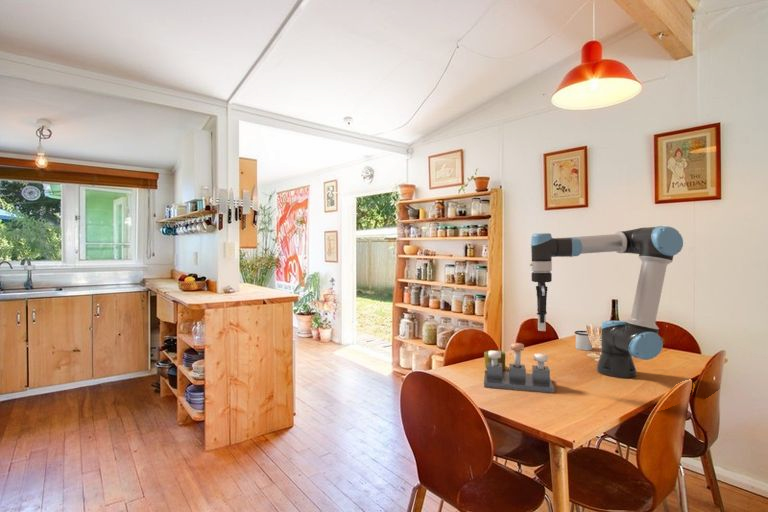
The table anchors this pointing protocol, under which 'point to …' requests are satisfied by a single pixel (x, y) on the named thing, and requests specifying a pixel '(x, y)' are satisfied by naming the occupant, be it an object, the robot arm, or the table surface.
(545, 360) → the knob near
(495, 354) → the knob far
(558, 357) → the table surface
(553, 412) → the table surface
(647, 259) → the robot arm
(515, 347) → the pink capped peg
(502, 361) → the mug
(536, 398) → the table surface
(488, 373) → the mount
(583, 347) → the mug
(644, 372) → the table surface
